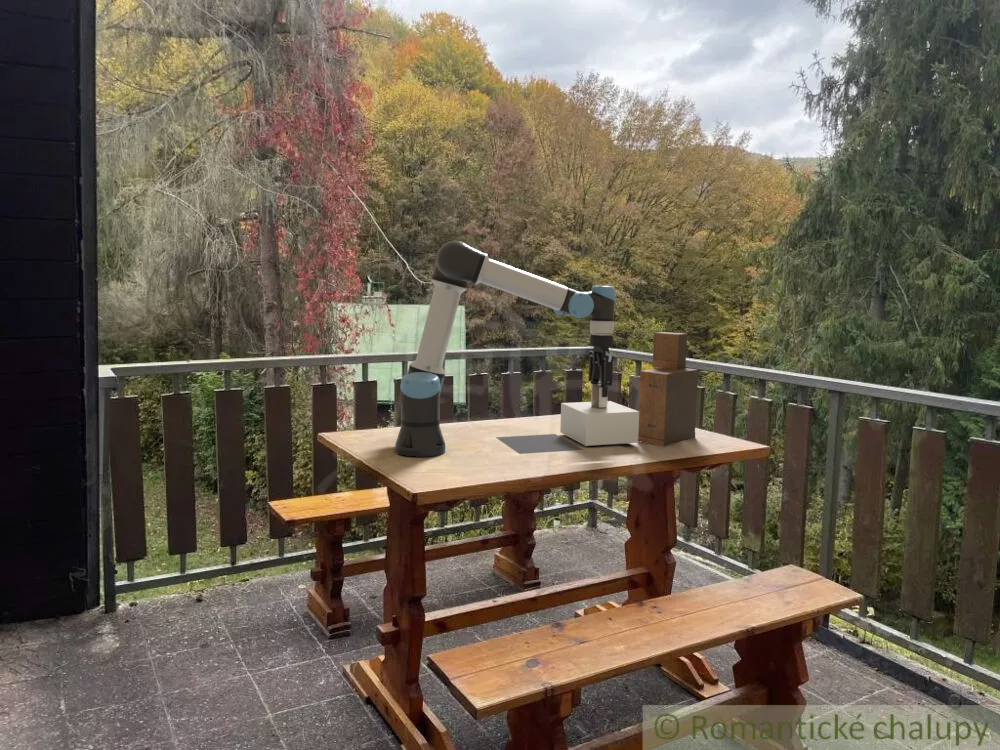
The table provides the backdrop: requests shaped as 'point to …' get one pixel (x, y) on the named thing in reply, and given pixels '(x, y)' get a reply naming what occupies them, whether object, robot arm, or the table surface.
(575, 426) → the cover
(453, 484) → the table surface
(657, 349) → the wooden block stack
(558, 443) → the mat
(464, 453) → the table surface
